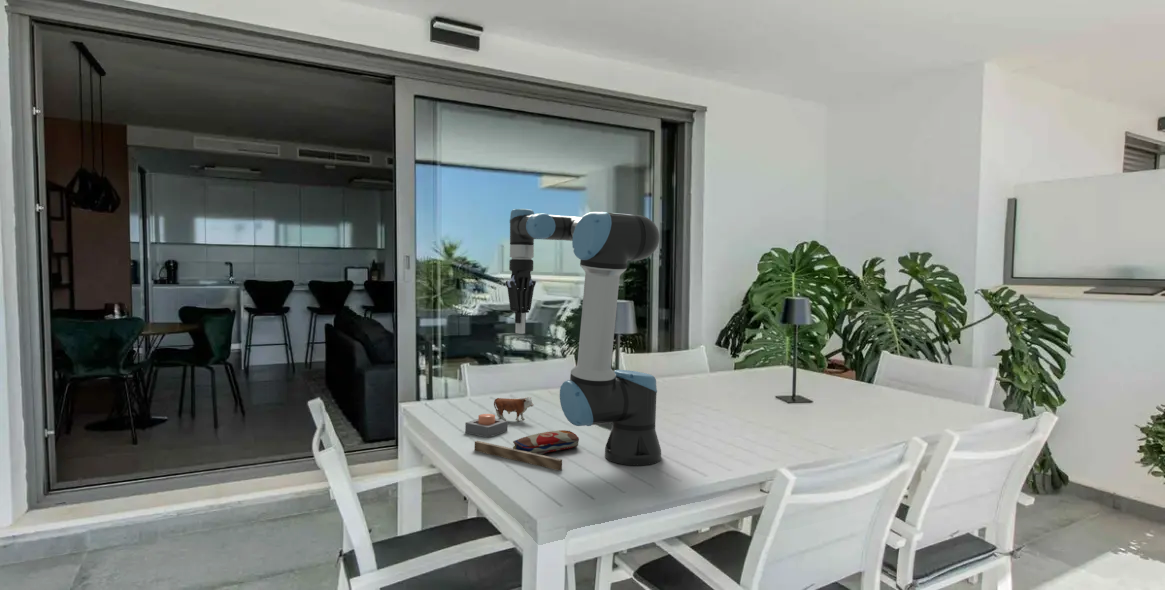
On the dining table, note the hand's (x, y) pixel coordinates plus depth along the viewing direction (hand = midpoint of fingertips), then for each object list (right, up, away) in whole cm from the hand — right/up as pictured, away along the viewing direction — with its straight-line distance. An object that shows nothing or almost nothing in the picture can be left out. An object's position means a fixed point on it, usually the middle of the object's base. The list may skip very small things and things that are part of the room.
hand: (520, 333), depth 195 cm
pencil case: (+10, -31, -25) cm, 41 cm away
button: (-10, -29, -7) cm, 31 cm away
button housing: (-10, -30, -7) cm, 32 cm away
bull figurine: (-3, -29, +7) cm, 30 cm away
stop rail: (+2, -31, -33) cm, 46 cm away
